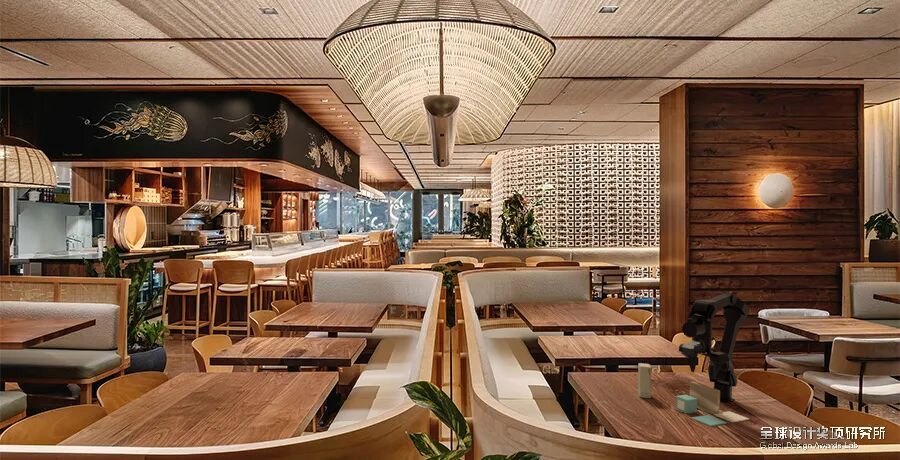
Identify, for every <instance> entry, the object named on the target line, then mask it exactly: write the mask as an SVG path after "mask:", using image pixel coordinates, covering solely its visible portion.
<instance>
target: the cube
mask: <svg viewBox="0 0 900 460" xmlns="http://www.w3.org/2000/svg"><path fill="white" fill-rule="evenodd" d="M676 409H677V410H676ZM675 410H676V411H679V412H681V413H683V412H684V414H687V413H688V414H693V412H694V413H697V399H696V398H694V397H691V396H690V395H688V394H682V395H681V394H680V395H676V396H675Z"/></svg>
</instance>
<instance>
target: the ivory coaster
mask: <svg viewBox="0 0 900 460" xmlns="http://www.w3.org/2000/svg"><path fill="white" fill-rule="evenodd" d="M713 416H714V417H718V418H719V419H723V420H726V421H728V422H731V423H738V422H743V421H749V420H750V418H749V417H746V416H744V415H741V414H738V413H735V412H732V411H731V410H727V411H723V413H719V414H714V415H713Z"/></svg>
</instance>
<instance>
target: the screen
mask: <svg viewBox="0 0 900 460" xmlns="http://www.w3.org/2000/svg"><path fill="white" fill-rule="evenodd" d="M689 396H691V397H694V398H696V399H697V408H698V410H700V411H703V412H705V413H708V414H711V415H712V416H715V415H714V414H719V413H723V412H724V411H723V410H721V409H720V405H721V404H720V403H721V401H720V390H717V389H714V387H711V386H707V385H705V384H701V383H699V382H695V381H690V382H689Z"/></svg>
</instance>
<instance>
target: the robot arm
mask: <svg viewBox="0 0 900 460" xmlns="http://www.w3.org/2000/svg"><path fill="white" fill-rule="evenodd" d="M721 309H722V311H723V313H722V314H723V318H724V320H725V325H724V330H723V333H722V334H723V335H722V338H721V341H720V345H719V350H718V351H715V348H714V347H712V346H713V345H712V343H713V341H715V337H713V322H715V320H716V319H714V317H715V315H717V313H718V310H721ZM749 310H750V308H749V306H748V305H747V303H746V302H744V300H741V298H739V297H738V296H737V294H735V293H731V292H730V293H729V292H722V293H721V294H719V295H717V296H715V297H711V298H709V299H696V300H695V301H694V302H693V303H692V306H691V308H690V311H689V313H688V316H687V321H686V322H684V324H683V325H682V326H681V331H682V334H683V335H684V336H685V337H687V338H691V341H688V342H687V343H680V344H679V346H678V352H680V353H681V355H682V356H684V357H685V358H686V360H687V362H688V366H689V369H690V372H691V373H695V371H696V365H697V362H698V361H697V360H698V355H701V356H705V357H708V359H709V360H708V363H709V364H710V365H709V367H708V371H707V372H708V379H709V383H713V388H714V389H717V390H720V402H723V403H726V402H727V403H728V402H734V401H736V399H735V398H733V397H732V396H733V395H732V393H733V392H732V391H733V387H737V384H738V378H737V377H736V374H735V373H734V370H735V367H734V365H733V362H732V358H733V353H734V349H735V346H736V342H737V336H738V333H739V329H740V326H741V325H742V324H743V323H745V322H746V320H747V317H748V315H749Z"/></svg>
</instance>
